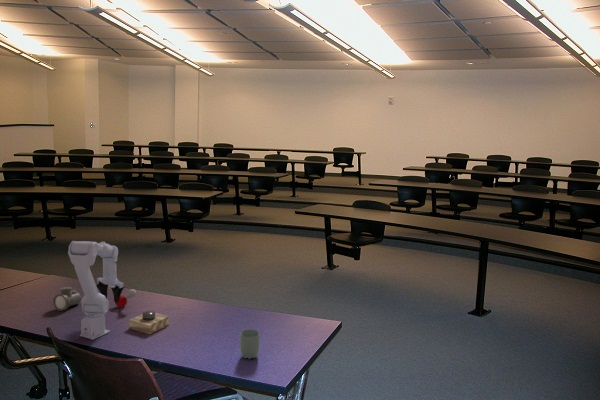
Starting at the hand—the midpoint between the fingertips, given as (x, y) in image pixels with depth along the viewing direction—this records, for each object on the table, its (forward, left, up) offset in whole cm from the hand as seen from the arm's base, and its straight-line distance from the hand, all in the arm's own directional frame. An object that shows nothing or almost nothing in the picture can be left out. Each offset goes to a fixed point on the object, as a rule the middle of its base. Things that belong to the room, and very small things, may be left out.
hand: (110, 300), depth 241 cm
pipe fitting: (+1, +29, -10) cm, 31 cm away
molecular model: (+14, +8, -10) cm, 19 cm away
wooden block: (+3, -20, -9) cm, 22 cm away
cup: (+1, -74, -10) cm, 75 cm away
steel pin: (+3, -20, -9) cm, 22 cm away
